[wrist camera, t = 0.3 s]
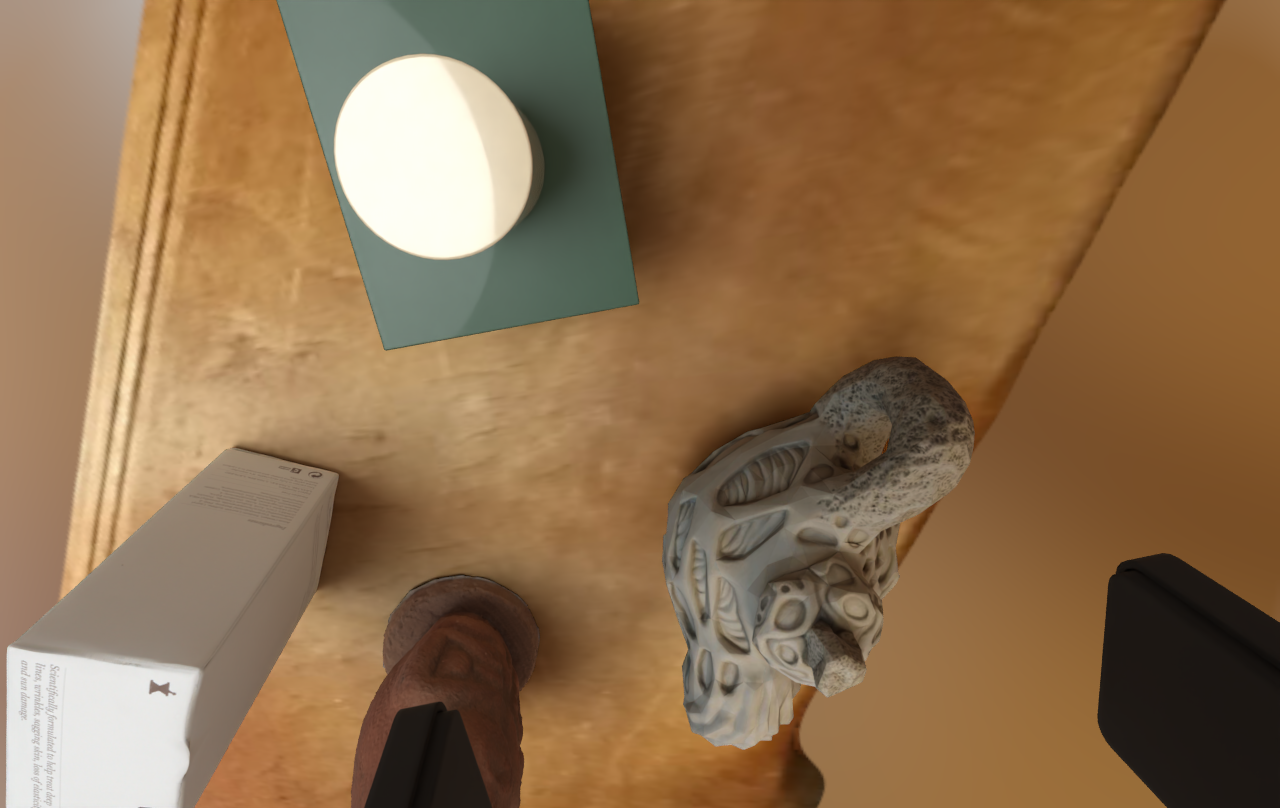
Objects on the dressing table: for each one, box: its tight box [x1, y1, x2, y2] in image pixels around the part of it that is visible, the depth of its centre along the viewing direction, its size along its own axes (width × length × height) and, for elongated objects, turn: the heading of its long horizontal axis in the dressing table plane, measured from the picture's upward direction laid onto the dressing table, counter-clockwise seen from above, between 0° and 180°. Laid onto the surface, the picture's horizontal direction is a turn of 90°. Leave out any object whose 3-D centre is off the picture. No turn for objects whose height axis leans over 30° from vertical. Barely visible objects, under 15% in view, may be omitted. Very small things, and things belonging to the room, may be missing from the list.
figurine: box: [351, 575, 540, 808], centre depth 33 cm, size 9×10×15 cm
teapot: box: [662, 357, 975, 750], centre depth 31 cm, size 21×12×15 cm, turn 157°
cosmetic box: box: [6, 448, 339, 808], centre depth 29 cm, size 8×6×15 cm
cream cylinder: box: [334, 53, 545, 260], centre depth 20 cm, size 5×5×7 cm
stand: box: [277, 0, 639, 350], centre depth 27 cm, size 12×10×8 cm
